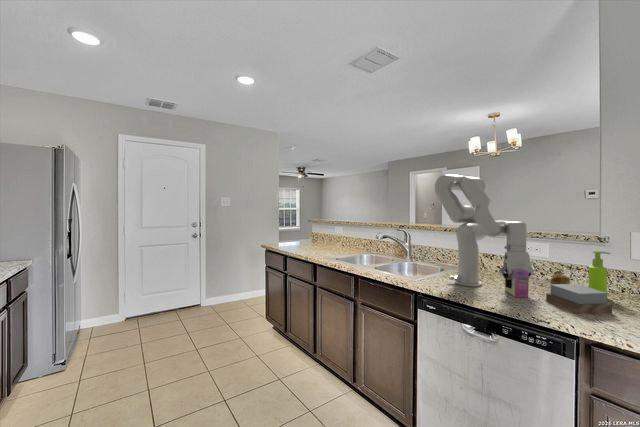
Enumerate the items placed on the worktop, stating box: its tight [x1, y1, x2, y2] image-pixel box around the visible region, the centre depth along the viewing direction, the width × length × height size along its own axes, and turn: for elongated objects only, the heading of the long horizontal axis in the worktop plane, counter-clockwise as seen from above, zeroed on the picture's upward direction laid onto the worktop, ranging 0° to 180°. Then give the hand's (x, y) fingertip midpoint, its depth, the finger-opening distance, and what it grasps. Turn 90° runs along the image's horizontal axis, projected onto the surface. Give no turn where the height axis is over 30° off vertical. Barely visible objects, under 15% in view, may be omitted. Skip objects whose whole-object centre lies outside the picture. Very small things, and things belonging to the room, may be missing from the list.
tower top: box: [550, 283, 608, 304], centre depth 117 cm, size 11×13×4 cm
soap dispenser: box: [587, 250, 612, 294], centre depth 128 cm, size 6×7×20 cm
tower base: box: [545, 292, 613, 315], centre depth 117 cm, size 13×15×4 cm
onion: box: [549, 270, 571, 285], centre depth 145 cm, size 8×8×8 cm
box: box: [504, 270, 530, 299], centre depth 135 cm, size 10×6×12 cm, turn 169°
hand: (516, 287), depth 135 cm, fingers closed on box, 6 cm apart
